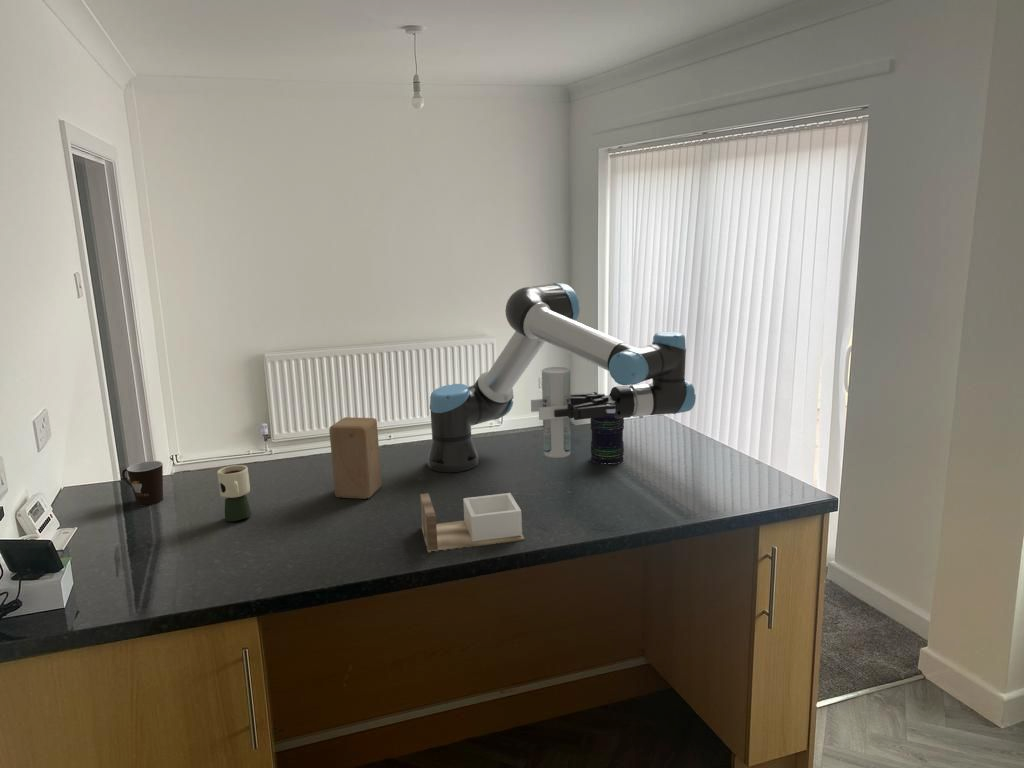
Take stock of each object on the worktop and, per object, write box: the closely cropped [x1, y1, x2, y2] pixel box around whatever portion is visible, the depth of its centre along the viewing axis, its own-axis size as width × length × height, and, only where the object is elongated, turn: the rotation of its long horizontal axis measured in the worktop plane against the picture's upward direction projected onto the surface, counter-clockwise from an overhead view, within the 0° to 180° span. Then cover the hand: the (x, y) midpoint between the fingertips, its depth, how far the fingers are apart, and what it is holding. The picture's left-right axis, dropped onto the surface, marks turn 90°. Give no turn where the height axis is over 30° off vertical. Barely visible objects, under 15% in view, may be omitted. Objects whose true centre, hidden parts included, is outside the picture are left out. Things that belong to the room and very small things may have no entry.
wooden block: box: [329, 416, 383, 500], centre depth 197 cm, size 10×10×20 cm
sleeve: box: [462, 492, 523, 542], centre depth 171 cm, size 12×12×6 cm
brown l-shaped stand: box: [419, 492, 525, 553], centre depth 170 cm, size 14×22×8 cm, turn 103°
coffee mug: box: [121, 460, 164, 506], centre depth 198 cm, size 12×9×10 cm
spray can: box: [541, 366, 572, 459], centre depth 169 cm, size 6×6×20 cm
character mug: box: [216, 464, 252, 522], centre depth 183 cm, size 11×7×13 cm, turn 26°
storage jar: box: [590, 416, 625, 465], centre depth 217 cm, size 10×10×15 cm
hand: (535, 409), depth 168 cm, fingers closed on spray can, 6 cm apart
